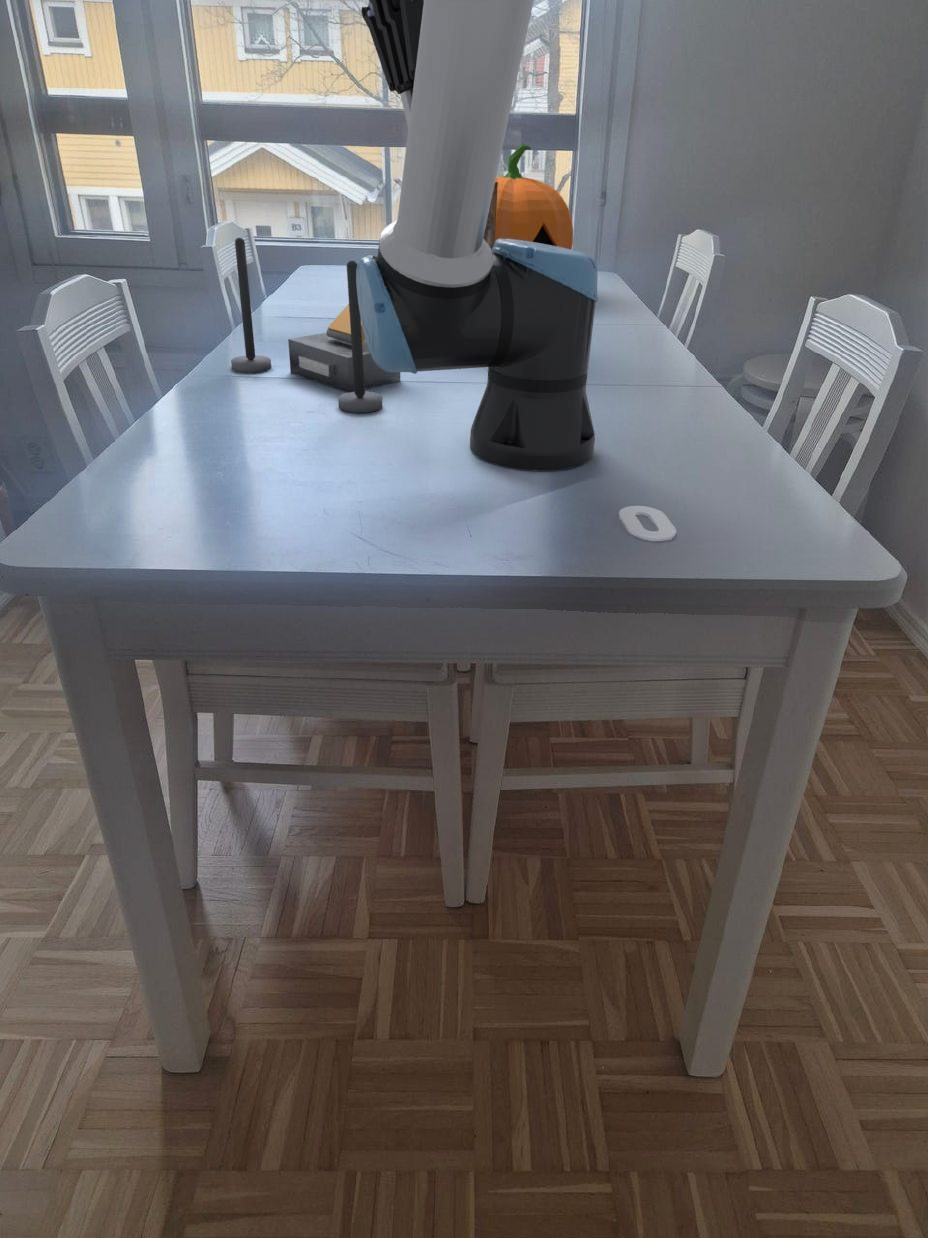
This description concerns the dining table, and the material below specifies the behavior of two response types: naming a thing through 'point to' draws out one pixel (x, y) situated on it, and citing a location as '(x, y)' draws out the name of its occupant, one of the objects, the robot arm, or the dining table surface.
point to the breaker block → (334, 363)
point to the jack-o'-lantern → (531, 209)
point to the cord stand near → (357, 356)
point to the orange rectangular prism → (342, 327)
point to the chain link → (656, 516)
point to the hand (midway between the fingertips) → (425, 149)
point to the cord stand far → (247, 320)
